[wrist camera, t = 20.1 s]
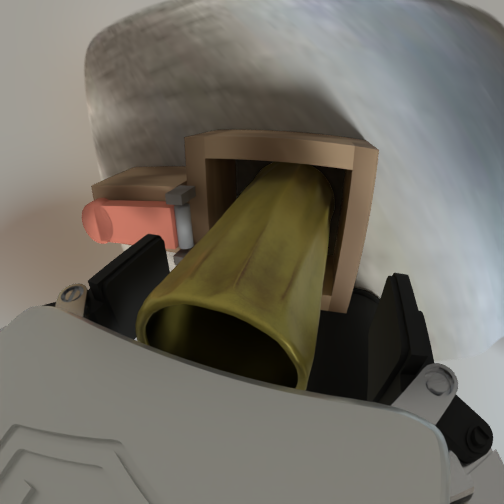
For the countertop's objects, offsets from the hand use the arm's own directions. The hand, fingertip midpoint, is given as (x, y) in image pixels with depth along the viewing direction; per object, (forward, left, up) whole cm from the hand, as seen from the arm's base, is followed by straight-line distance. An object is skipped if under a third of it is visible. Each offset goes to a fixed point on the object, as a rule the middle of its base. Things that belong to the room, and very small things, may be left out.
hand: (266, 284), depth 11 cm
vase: (0, 0, -10) cm, 10 cm away
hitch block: (+5, 0, -10) cm, 11 cm away
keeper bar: (+10, 0, -4) cm, 10 cm away
